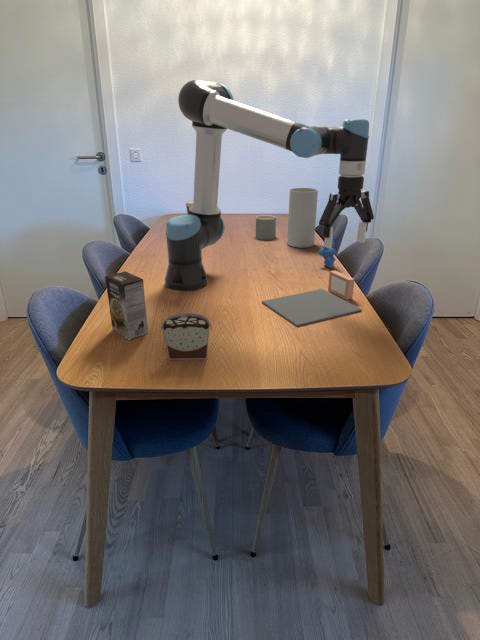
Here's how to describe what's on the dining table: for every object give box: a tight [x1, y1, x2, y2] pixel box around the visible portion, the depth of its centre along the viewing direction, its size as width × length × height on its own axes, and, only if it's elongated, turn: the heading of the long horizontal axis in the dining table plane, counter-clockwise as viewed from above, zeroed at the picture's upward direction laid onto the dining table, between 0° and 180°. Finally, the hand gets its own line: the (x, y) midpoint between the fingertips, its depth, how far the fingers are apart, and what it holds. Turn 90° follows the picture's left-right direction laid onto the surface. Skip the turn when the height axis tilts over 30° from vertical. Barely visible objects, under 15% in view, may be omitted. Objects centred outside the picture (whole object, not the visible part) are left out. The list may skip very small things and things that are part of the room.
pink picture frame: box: [327, 270, 356, 301], centre depth 145 cm, size 10×2×7 cm, turn 28°
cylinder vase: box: [286, 187, 319, 249], centre depth 199 cm, size 12×12×25 cm
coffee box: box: [104, 270, 149, 340], centre depth 117 cm, size 9×6×16 cm
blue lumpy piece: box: [318, 237, 337, 269], centre depth 172 cm, size 12×7×12 cm, turn 4°
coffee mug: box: [255, 214, 277, 241], centre depth 216 cm, size 13×10×10 cm
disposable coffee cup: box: [185, 200, 193, 215], centre depth 242 cm, size 10×10×12 cm
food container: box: [160, 312, 213, 361], centre depth 108 cm, size 12×6×10 cm, turn 92°
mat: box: [261, 288, 363, 328], centre depth 136 cm, size 24×20×1 cm
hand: (344, 244), depth 139 cm, fingers open, 13 cm apart
